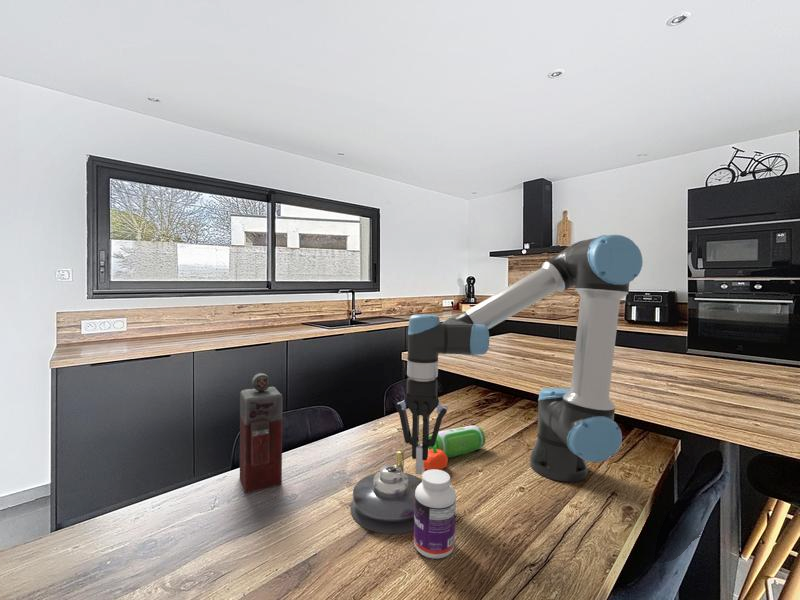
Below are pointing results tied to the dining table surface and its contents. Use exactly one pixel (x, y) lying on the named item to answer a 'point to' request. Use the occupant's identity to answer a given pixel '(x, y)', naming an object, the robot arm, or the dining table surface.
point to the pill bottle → (434, 515)
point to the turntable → (386, 509)
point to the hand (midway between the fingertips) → (419, 471)
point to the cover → (390, 483)
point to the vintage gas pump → (260, 435)
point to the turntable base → (381, 524)
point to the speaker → (459, 440)
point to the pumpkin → (436, 459)
